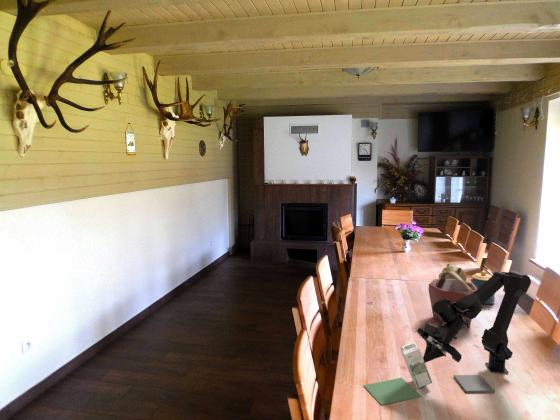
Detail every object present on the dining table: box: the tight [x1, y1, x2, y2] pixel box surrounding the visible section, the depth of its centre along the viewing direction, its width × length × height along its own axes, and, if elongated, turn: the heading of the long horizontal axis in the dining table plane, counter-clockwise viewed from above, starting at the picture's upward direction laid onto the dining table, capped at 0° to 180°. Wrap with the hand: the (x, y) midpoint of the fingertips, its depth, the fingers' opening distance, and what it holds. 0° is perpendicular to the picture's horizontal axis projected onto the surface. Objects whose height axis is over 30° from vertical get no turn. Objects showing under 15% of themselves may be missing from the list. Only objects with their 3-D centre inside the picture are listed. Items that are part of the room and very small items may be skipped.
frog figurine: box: [438, 263, 468, 282], centre depth 261 cm, size 14×18×12 cm
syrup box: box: [399, 341, 433, 389], centre depth 144 cm, size 6×6×14 cm
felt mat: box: [363, 377, 423, 406], centre depth 141 cm, size 16×12×1 cm
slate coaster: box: [453, 374, 495, 394], centre depth 144 cm, size 10×10×1 cm
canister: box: [469, 270, 496, 306], centre depth 226 cm, size 13×13×18 cm
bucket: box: [428, 271, 478, 328], centre depth 198 cm, size 24×22×25 cm
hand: (423, 361), depth 144 cm, fingers closed
